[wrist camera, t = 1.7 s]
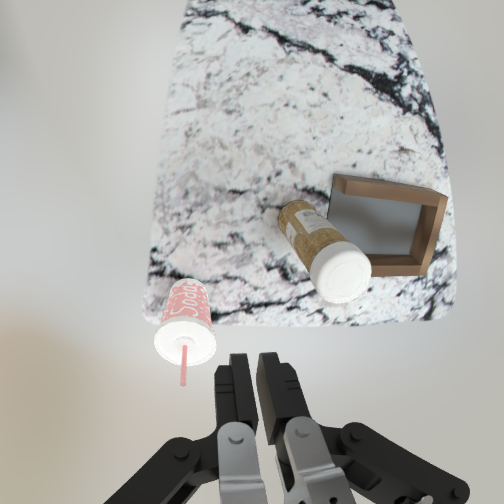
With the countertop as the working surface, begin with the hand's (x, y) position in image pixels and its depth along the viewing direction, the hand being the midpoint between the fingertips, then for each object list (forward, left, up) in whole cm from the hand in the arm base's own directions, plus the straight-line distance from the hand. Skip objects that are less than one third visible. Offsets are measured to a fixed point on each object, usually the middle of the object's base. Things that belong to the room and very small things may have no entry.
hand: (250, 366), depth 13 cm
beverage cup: (+10, -4, -21) cm, 24 cm away
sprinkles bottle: (0, +8, -21) cm, 23 cm away
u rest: (0, +19, -21) cm, 28 cm away
